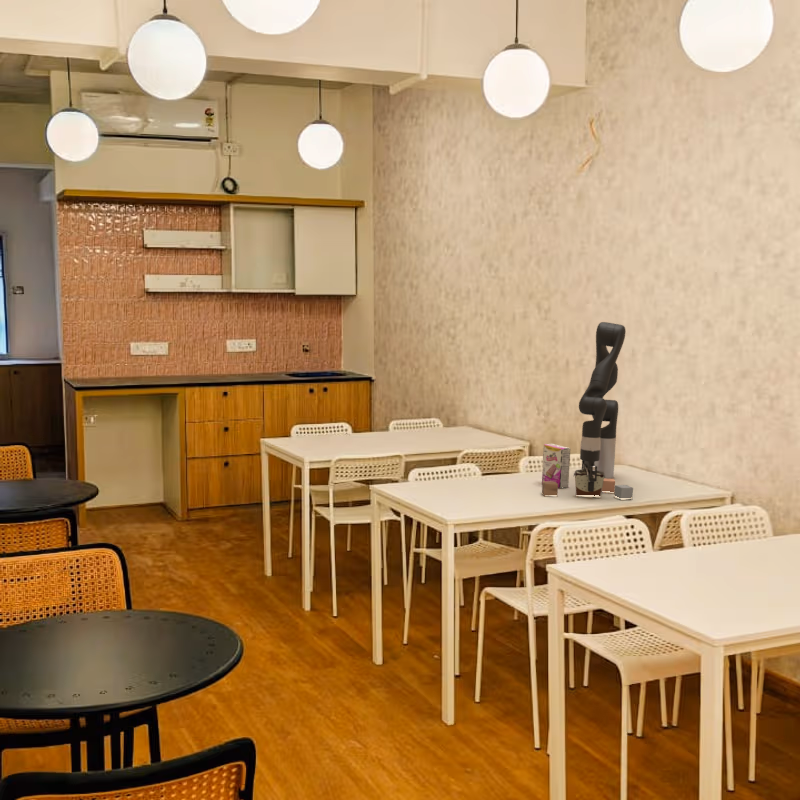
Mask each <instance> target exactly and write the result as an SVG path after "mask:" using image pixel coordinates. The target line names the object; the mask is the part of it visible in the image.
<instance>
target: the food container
mask: <svg viewBox="0 0 800 800" xmlns="http://www.w3.org/2000/svg"><path fill="white" fill-rule="evenodd" d="M589 474H590V473H589ZM572 476H573V477H574V480H575V484H574V485H575V487H574V488H575V496H576V495H594V496H595V495H599V496H601V497H602V493H601V492H602V486H603V480H604V478H605V474H604V472H602V471H598V470H597V481H595V482H594V491H593V492H589V491H588V477H587V476H586V472H585V471H583V469H582V468H581V469H576V470H575V471H574V472H573V475H572ZM592 478H593V477H592Z"/></svg>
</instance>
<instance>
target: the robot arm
mask: <svg viewBox="0 0 800 800" xmlns="http://www.w3.org/2000/svg"><path fill="white" fill-rule="evenodd" d="M625 337H626V327H625V325H623V324H620V323H619V324H618V323H613V322H607V321H602V322H599V323H598V325H597V326H596V331H595V350H596V351H595V352H596V353H595V354H596V355H595V357H596V358H595V366H594V369H593V371H592V373H591V377H590V380H589V383H588V387H586V389H585V392H584V393H583V395H582V396H581V397H580V400H579V402H578V410H579V412H580V413H581V414H582V415H588V416H592V420H585V421H584V422H583V423H582V429H581V430H582V431H581V439H580V450H579V451H580V453H579V459H580V460H581V469H583V471H585V472H586V476H587V477H588V491H589V492H593V491H594V482H595V481H597V470H598V471H602V472H604V474H605V478H606V479H614V476H615V475H614V474H615V472H614V471H615V459H616V443H617V442H616V441H617V440H616V439H617V424H618V415H619V402H618V401H617V400H615V399H605V398H604V397H605V395H606V394H607V393H609V392H610V391H611V390H612V388H614V387H615V385H616V383H617V381H618V375H619V373H618V372H619V366H618V364H617V360H618V357H619V356H620V353H621V350H622V348H623V344H624V342H625V339H626V338H625ZM607 347H610V348H612V349H611V350H610V352H609V350H608V348H607ZM603 422H609V423H608V424H606V425H605V426H603V427H602V424H603ZM589 473H590V474H589ZM592 477H593V478H592Z"/></svg>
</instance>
